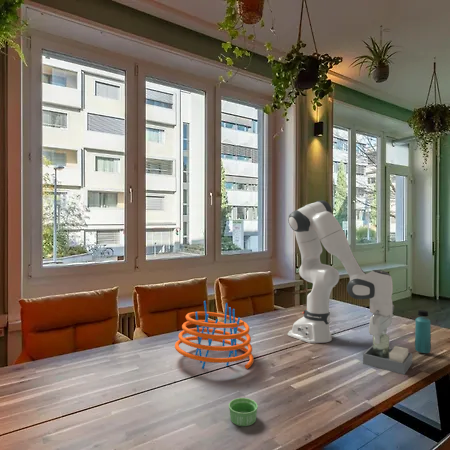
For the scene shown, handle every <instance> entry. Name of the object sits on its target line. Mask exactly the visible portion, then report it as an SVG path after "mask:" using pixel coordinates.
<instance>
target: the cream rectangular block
mask: <svg viewBox="0 0 450 450" xmlns="http://www.w3.org/2000/svg"><path fill="white" fill-rule="evenodd" d="M391 349H392V350H391V352H390V353H389V360H392V361H397V362H401V363H404V362H405V360H406V359H407V358H408V353H409V348H407V347H401V346H397V345H395V346H394V347H393V348H391Z"/></svg>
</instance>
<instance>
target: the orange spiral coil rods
mask: <svg viewBox="0 0 450 450" xmlns="http://www.w3.org/2000/svg"><path fill="white" fill-rule="evenodd" d="M206 302H207V301H206V300H204V301H203V306H204V311H192V312H188V313H187V314H186V315H185V319H186V321H185V322H183V324H182V325H181V329H182V330H181V331H180V332H179V333H178V340H177V341H175V344H174V348H175V351H176V352H177V353H178V354H180V355H182V356H184V357H186V358H189V359H192V360H196V361H199V363H201V364H202V366H201V369H202V370H204V369H205V366H206V363H214V364H215V363H216V364H217V363H221V364H222V363H223V364H224V363H226V364H225V365H226V366H227V367H228V366H229V364H230V363H233V362H234V363H235V362H237V363H238V362H239V361H243V360H244V359H246V358H249V361H248V362H247V363H246V364H245V365H244V367H245V369H249V368H251V366H252V365H253V363H254V356H253V354H252V352H253V347H252V346H253V345H251V341H252V337H251V335H250V334H249V333H250V330H251V329H250V326H249V325H248V323H247V322H245V321H243V320H242V319H241V317H236V314H235V313H236V311H235V310H236V309H235V308H231V306H230V307H229V306H228V302H225V305H224V307H225V308H224V309H225V310H224V313H220V312H212V311H208V310H207V303H206ZM194 316H195V319H194V318H192V317H194ZM199 316H204V317H205V319H199ZM209 316H210V317H216V319H215V320H209V319H208V318H209ZM217 318H222V319H224V320H223V322H222V321H219V319H217ZM227 320H229V323H227ZM190 325H196V327H195V328H194V327H193V328H188V327H187V326H190ZM242 326H243V327H244V328H245V330H244V329H243V328H241V327H242ZM217 328H218V329H217ZM222 329H223V330H222ZM226 329H229V331H226ZM210 333H211V334H210ZM186 334H188V335H192V336H187V337H184V335H186ZM243 337H244V338H243ZM192 341H197V342H198V343H197V342H192ZM202 341H207V343H208V345H206V344H201V342H202ZM237 341H240V342H242V343H240V344H239V343H237ZM212 342H218V343H222V345H220V346H219V345H212ZM182 343H183V344H184V345H187V346H188V347H192V348H195V349H196V351H195V354H193V353H189V352H187V351H185V350H183V349H182V348H181V347H180V345H181V344H182ZM226 344H227V345H226ZM225 345H226V346H225ZM246 347H247V348H246ZM202 350H205V351H206V352H205V356H203V355H202ZM237 350H240V351H243V352H244V353H243V354H240V355H238V354H237V353H238V351H237ZM210 351H215V352H228V356H227V357H208V356H209V352H210ZM198 353H199V355H198ZM233 354H234V356H232V355H233ZM231 356H232V357H231Z"/></svg>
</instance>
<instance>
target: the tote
mask: <svg viewBox="0 0 450 450" xmlns="http://www.w3.org/2000/svg"><path fill="white" fill-rule="evenodd" d="M392 349H393V348H391V347H389V353H390V352H391V350H392ZM362 364H363V365H367V366H370V367H373V368H377V369H380V370H381V369H382V370H385V371H389V372H393V373H396V374H399V375H400V374H401V375H406V373H408V370H410V369H409V368H410V367H411V366H412V365H413V353H412V352H408V358H407V359H406V360H405V362H404V363H401V362H397V361H392V360H389V357H388V358H380V357H376V356H374V355H373V344H372V345H371V346H370V347H369V348H368V349H367V350H365V351H364V352H363V354H362Z"/></svg>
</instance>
